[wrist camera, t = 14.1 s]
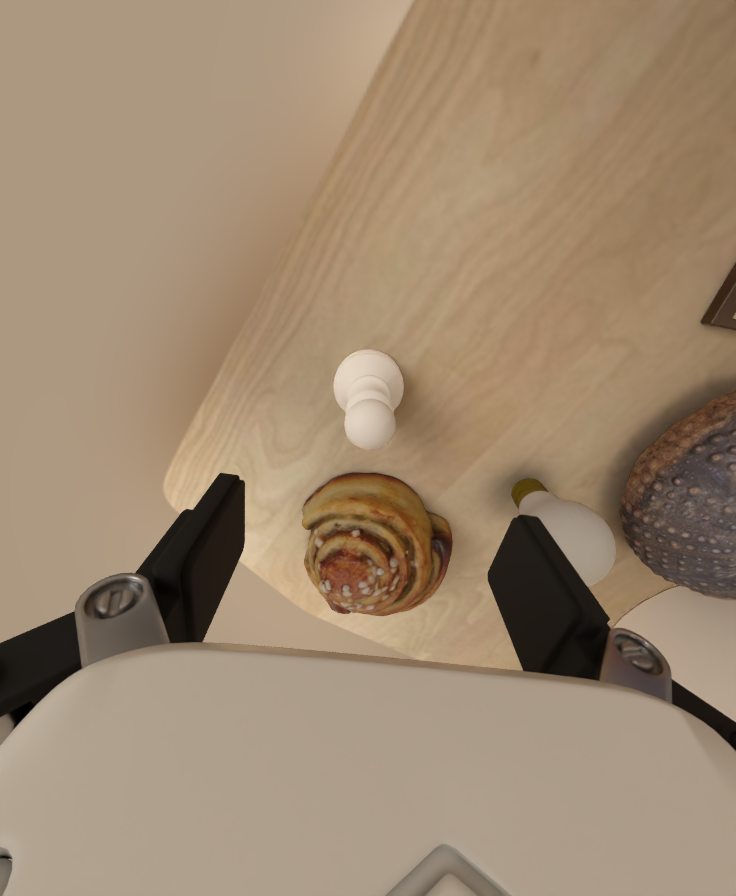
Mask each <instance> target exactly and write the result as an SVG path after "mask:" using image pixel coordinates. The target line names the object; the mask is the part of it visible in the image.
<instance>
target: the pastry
mask: <svg viewBox="0 0 736 896" xmlns="http://www.w3.org/2000/svg"><path fill="white" fill-rule="evenodd" d="M302 511H303V520H302V526H303V527H304V528H305V529H306V530H309V529H310V530H311V533H310V537H309V543H308V548H307V552H306V555H305V559H304V564H305V567H306V570H307V573H308V576H309V577H310V579H311V581H312V583H313V584H314V585H315V586H316V588H317V589H318V590H319V592H320V593H321V594H322V596H323V597H324V598H325V599H326V601H327V602H328V604H329V606H330V607H331V609H332V610H334V611H336V612H337V613H342V614H349V613H350V612H352V613H357V612H358V613H362V614H369V615H376V616H386V615H390V614H394V613H398V612H404V611H408V610H411V609H413V608H414V607H416V606H418V605H420V604H422V603H423V602H425V601H426V600H427V599H428V598H430V597H431V596H432V595H433V594H434V592H435V591H436V590H437V589H438V587H439V586H440V584H441V582H442V580H443V578H444V576H445V574H446V571H447V567H448V564H449V561H450V556H451V553H452V543H453V542H452V533H451V530H450V527H449V524H448V522H447V521H446V520H444V519H442V518H440V517H439V516H436V515H433V514H430V513H428V512H427V511H425V508H424V506H423V504H422V501H421V500H420V499H419V497H418V495H417V494H416V493H415V492H414V491H413V490H412V489H410V488H409V487H408V486H407V485H406V484H405V483H403V482H401V481H400V480H398V479H396V478H393V477H390V476H386V475H382V474H376V473H349V474H345V475H341V476H338V477H336V478H333V479H332V480H331V481H329V482H328V483H327V484H326V485H324V486H322V487H321V488H319V489H318V490H317V491H316V492H315V493H314V494H313V495H312V496H311V497H310V498H309V499H308V500H307V501H306V503H305V504H304V506H303V509H302Z"/></svg>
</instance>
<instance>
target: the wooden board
mask: <svg viewBox="0 0 736 896" xmlns="http://www.w3.org/2000/svg"><path fill="white" fill-rule="evenodd" d="M701 322H702V323H704V324H709V325H715V326H720V327H725V328H730V329H735V330H736V265H735V266H734V268H733V270H732V271H731V273H730V275H729V276H728V278H727V280H726V281H725V283H724V285H723V286H722V288H721V290H720V291H719V293H718V295H717V296H716V298H715V300H714V301H713V303H712V305H711V306H710V308H709V310H708V311H707V313H706V315H705V316H704V318H703V320H702V321H701Z"/></svg>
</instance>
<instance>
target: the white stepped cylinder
mask: <svg viewBox="0 0 736 896" xmlns="http://www.w3.org/2000/svg"><path fill="white" fill-rule="evenodd" d="M614 628H624V629H627V630H631V631H633V632H635V633H637V634H639V635H641V636H642V637H643V638H645V639H646V640H648V641H649V642H650V643H651V644H653V645H654V646H655V647H656V648H657V649H658V650H659V651H660V652H661V654H662V655H663V656H664V657H665V659H666V660H667V662H668V664H669V666H670V669H671V676H672V679H673V680H674V681H676V682H677V683H679V684H680V685H682V686H683V687H684V688H686V689H687V690H689V691H690V692H692V693H693V694H695V695H696V696H698V697H699V698H701V699H702V700H704V701H705V702H707V703H708V704H710V705H711V706H713V707H714V708H716V709H717V710H719V711H720V712H721V713H723V714H724V715H726V716H727V717H729V718H730V719H732V720H733V721H735V722H736V600H722V599H717V598H712V597H707V596H704V595H703V594H701V593H699V592H695V591H692V590H690V589H689V588H687V587H681V586H680V585H679V586H677V587H674V588H671V589H668V590H665V591H663V592H661V593H659V594H657V595H655V596H653V597H651V598H650V599H648V600H646V601H644V602H642V603H640V604H639V605H638V606H636V607H635V608H634V609H632V610H631V611H630V612H628V613H627V614H626V615H624V616H623V617H622V618H621V619H620V620H619V622H618V623H617V624H616V625H615V626H614V627H613V628H612V629H614Z"/></svg>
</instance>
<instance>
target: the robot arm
mask: <svg viewBox="0 0 736 896" xmlns="http://www.w3.org/2000/svg"><path fill="white" fill-rule="evenodd" d="M244 543H245V482H244V480H240V478H239V476H238V475H232V474H225V473H220V474H219V475H218V476H217V478H216V479H215V480H214V482H213V483H212V485H211V486H210V487H209V489H208V490H207V491H206V493H205V494H204V496H203V497H202V498H201V500H200V501H199V502H198V504H197V505H196V507H195V508H194V509H193V510H189V509H186V510H184V511H183V512H182V513H181V514H180V515H179V517H178V518H177V519H176V521H175V522H174V523H173V524H172V526H171V527H170V528H169V530H168V531H167V532H166V534H165V535H164V536H163V537H162V539H161V540H160V541H159V543H158V544H157V545H156V547H155V548H154V549H153V551H152V552H151V553H150V555H149V556H148V557H147V558H146V560H145V561H144V562H143V564H142V565H141V566H140V568H139V569H138V570H137V571H136V573H120V574H117V575H113V576H109V577H107V578H104V579H102V580H100V581H98V582H97V583H95V584H93V585H92V586H90V587H89V588H88V589H87V590H86V591H85V592H84V593H83V594H82V595H81V596H80V598H79V599H78V601H77V603H76V606H75V611H74V612H72V613H69V614H67V615H65V616H62V617H60V618H58V619H55V620H53V621H51V622H48V623H46V624H44V625H42V626H39V627H37V628H34V629H32V630H30V631H27V632H25V633H23V634H20V635H18V636H16V637H13V638H11V639H9V640H7V641H4V642H2V643H0V896H736V722H735V721H733V720H732V719H730V718H729V717H727V716H726V715H724V714H723V713H721V712H720V711H719V710H717V709H716V708H714V707H713V706H711V705H710V704H708V703H707V702H705V701H704V700H702V699H701V698H699V697H698V696H696V695H695V694H693V693H692V692H690V691H689V690H687V689H686V688H684V687H683V686H682V685H680V684H679V683H677V682H676V681H674V680H673V679H672V676H671V669H670V666H669V664H668V662H667V660H666V659H665V657H664V656H663V655H662V654H661V652H660V651H659V650H658V649H657V648H656V647H655V646H654V645H653V644H651V643H650V642H649V641H648V640H646V639H645V638H643V637H642V636H641V635H639V634H637V633H635V632H633V631H631V630H627V629H624V628H614V629H610V627H609V626H608V624H607V622H608V621H609V620H610V618H609V617H608V615H607V614H606V613H605V611H604V610H603V608H602V607H601V605H600V604H599V603H598V601H597V600H596V598H595V597H594V596H593V594H592V593H591V591H590V590H589V588H588V587H587V586H586V584H585V583H584V581H583V580H582V578H581V577H580V576H579V574H578V573H577V571H576V570H575V568H574V567H573V566H572V564H571V563H570V561H569V560H568V558H567V557H566V556H565V554H564V553H563V551H562V550H561V548H560V547H559V546H558V544H557V543H556V541H555V540H554V538H553V537H552V536H551V534H550V533H549V531H548V530H547V528H546V527H545V526H544V524H543V523H542V521H541V520H540V519H539V518H538V517H536V516H530V515H523V514H521V515H519V516H518V517H517V518H514V519H513V520H512V521H511V524H510V526H509V528H508V530H507V532H506V534H505V537H504V539H503V541H502V543H501V545H500V547H499V549H498V552H497V554H496V556H495V558H494V560H493V562H492V565H491V567H490V569H489V571H488V582H489V584H490V587H491V590H492V592H493V595H494V597H495V600H496V602H497V605H498V607H499V610H500V612H501V615H502V618H503V620H504V623H505V625H506V628H507V630H508V633H509V635H510V638H511V640H512V643H513V646H514V648H515V651H516V653H517V656H518V658H519V661H520V663H521V666H522V668H523V671H516V670H507V669H497V668H488V667H478V666H469V665H459V664H449V663H439V662H429V661H419V660H409V659H398V658H388V657H378V656H368V655H357V654H347V653H336V652H325V651H314V650H304V649H303V650H302V649H293V648H282V647H269V646H255V645H243V644H230V643H204V642H203V639H204V637H205V635H206V633H207V630H208V628H209V626H210V624H211V622H212V619H213V617H214V615H215V613H216V610H217V608H218V606H219V603H220V601H221V599H222V597H223V594H224V592H225V590H226V588H227V585H228V583H229V581H230V579H231V576H232V574H233V572H234V570H235V567H236V565H237V563H238V561H239V558H240V556H241V554H242V551H243V548H244ZM8 859H12V861H11V860H8Z"/></svg>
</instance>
